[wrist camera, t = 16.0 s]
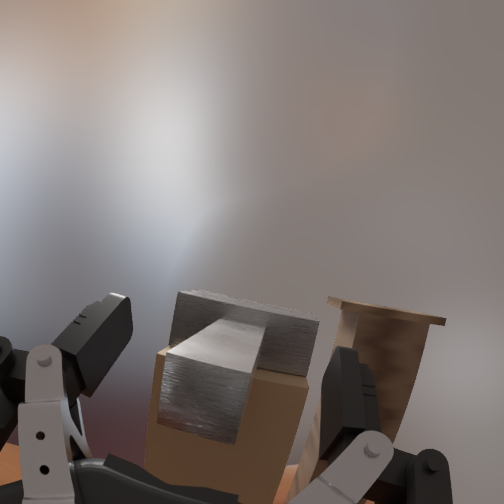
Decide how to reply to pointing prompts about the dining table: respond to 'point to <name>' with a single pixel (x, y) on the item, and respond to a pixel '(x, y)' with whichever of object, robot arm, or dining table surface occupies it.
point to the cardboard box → (226, 455)
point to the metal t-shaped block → (226, 359)
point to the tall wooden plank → (373, 369)
